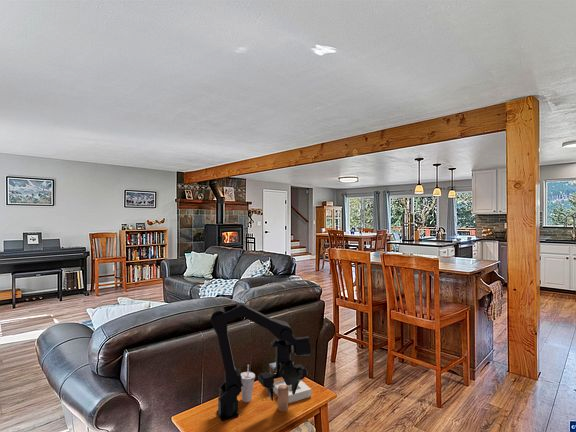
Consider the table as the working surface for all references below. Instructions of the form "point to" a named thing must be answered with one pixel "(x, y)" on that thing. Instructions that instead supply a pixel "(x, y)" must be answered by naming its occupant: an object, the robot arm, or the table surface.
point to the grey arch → (272, 366)
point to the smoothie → (247, 385)
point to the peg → (283, 398)
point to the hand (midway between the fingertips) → (282, 397)
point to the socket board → (300, 393)
